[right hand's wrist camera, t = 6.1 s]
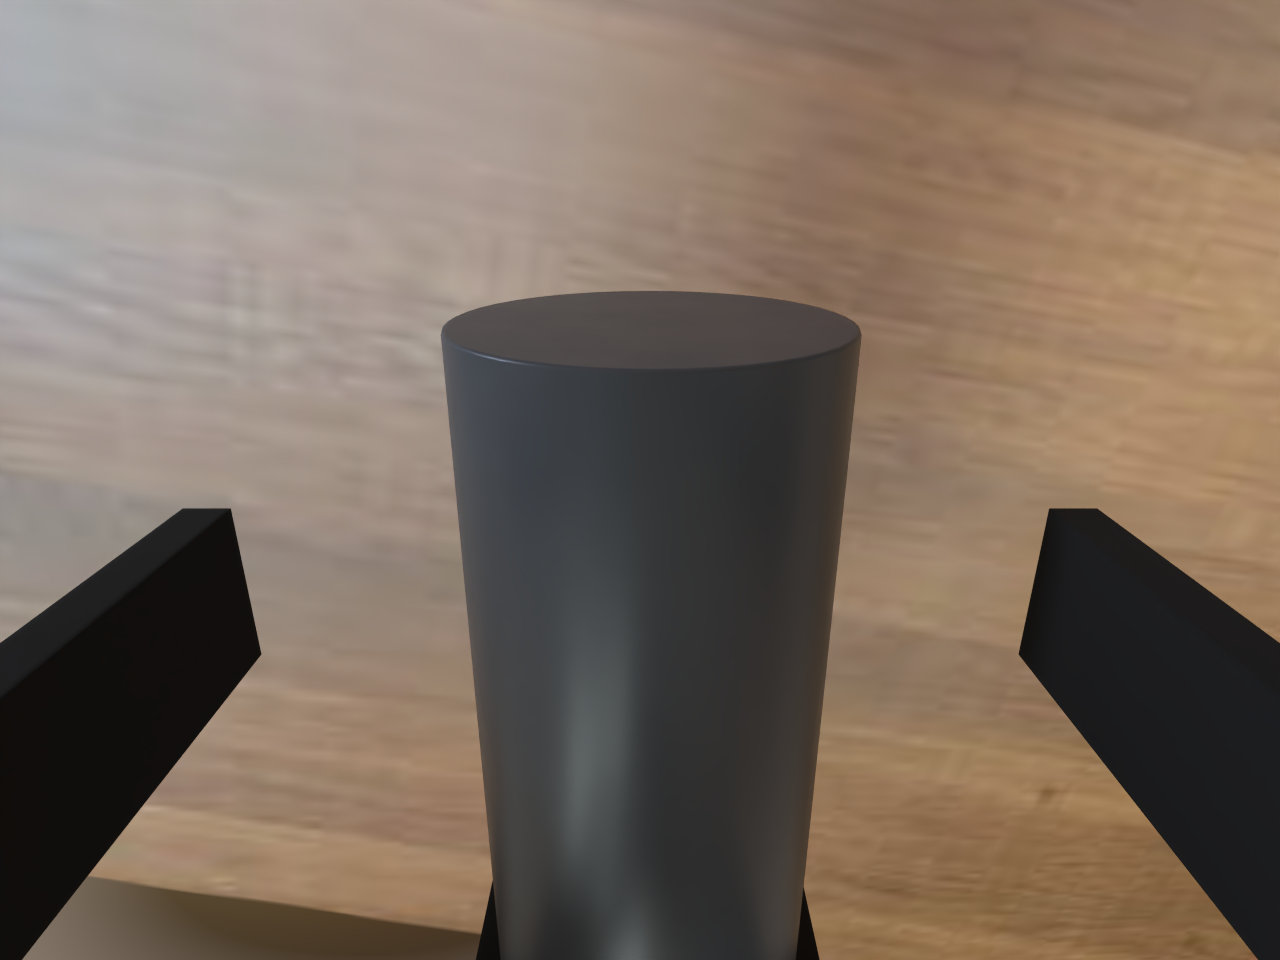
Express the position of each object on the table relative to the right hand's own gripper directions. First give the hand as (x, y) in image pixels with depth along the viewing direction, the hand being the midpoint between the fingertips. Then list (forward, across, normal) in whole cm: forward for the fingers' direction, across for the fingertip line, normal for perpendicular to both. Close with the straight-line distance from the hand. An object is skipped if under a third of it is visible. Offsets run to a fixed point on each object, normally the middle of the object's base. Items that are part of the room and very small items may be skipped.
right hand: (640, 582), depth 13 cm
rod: (+8, 0, -7) cm, 11 cm away
